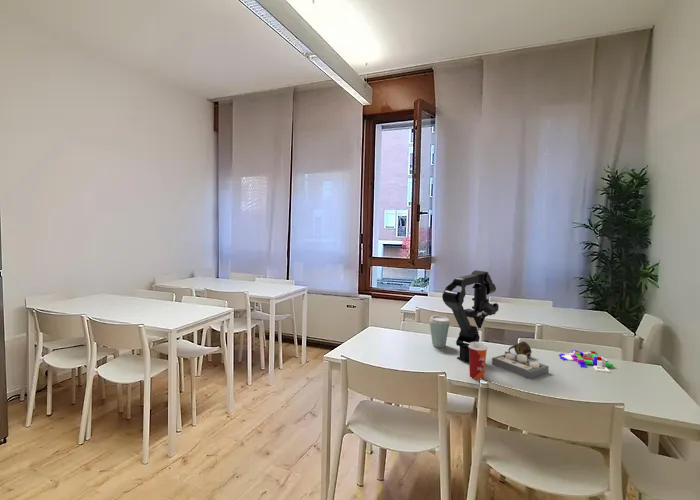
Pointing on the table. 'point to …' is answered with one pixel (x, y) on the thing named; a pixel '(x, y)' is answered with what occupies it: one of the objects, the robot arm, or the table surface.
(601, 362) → the building block set
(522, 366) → the pattern card
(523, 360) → the button middle
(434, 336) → the disposable coffee cup
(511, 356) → the button
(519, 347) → the brown mug
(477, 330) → the robot arm
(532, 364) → the button
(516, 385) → the table surface
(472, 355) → the paper cup
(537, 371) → the button panel
